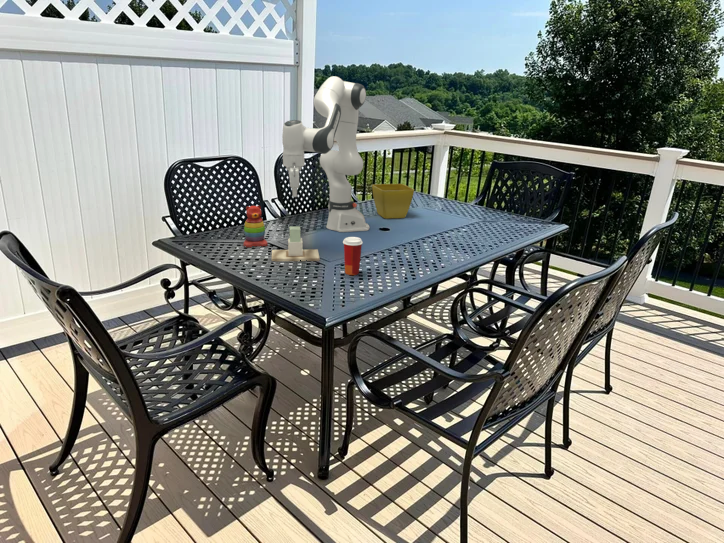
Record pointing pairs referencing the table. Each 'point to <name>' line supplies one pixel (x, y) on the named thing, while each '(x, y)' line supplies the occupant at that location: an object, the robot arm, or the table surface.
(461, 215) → the table surface
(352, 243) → the paper cup
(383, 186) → the flower pot
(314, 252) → the base board
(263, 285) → the table surface
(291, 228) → the sage cube
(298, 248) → the cream block
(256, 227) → the stacking bear
